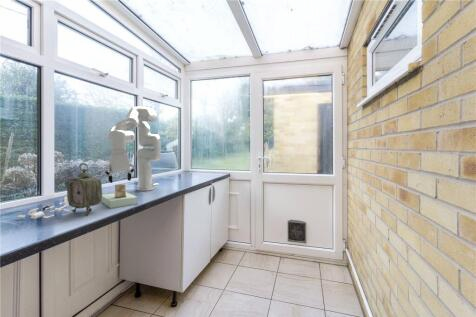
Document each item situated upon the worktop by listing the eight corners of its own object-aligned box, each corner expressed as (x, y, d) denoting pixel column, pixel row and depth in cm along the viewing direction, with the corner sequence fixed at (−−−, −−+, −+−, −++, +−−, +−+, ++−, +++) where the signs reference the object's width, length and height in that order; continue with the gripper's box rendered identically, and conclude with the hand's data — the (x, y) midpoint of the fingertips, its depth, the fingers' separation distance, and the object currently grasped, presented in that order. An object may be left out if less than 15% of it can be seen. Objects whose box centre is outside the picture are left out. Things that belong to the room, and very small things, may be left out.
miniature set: (83, 200, 138) (100, 204, 135) (16, 222, 104) (38, 228, 101) (83, 190, 137) (101, 194, 134) (16, 209, 103) (38, 215, 100)
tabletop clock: (68, 213, 114) (65, 163, 112) (86, 208, 122) (85, 162, 120) (85, 217, 107) (83, 164, 106) (104, 212, 116) (102, 163, 114)
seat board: (126, 198, 146) (125, 191, 146) (137, 203, 132) (137, 197, 132) (101, 201, 137) (101, 195, 137) (110, 208, 122) (110, 201, 122)
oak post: (123, 202, 135) (123, 184, 135) (125, 203, 132) (125, 184, 131) (115, 203, 132) (114, 184, 132) (117, 205, 129) (117, 185, 128)
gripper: (132, 151, 139) (133, 178, 140) (100, 152, 127) (101, 182, 129) (137, 151, 134) (137, 180, 135) (103, 152, 122) (105, 184, 123)
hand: (120, 181), depth 132 cm, fingers open, 9 cm apart
